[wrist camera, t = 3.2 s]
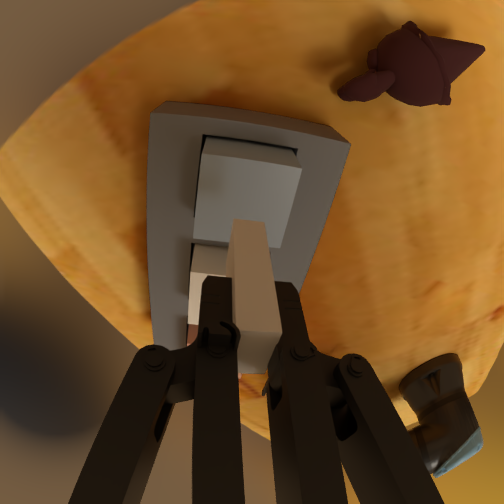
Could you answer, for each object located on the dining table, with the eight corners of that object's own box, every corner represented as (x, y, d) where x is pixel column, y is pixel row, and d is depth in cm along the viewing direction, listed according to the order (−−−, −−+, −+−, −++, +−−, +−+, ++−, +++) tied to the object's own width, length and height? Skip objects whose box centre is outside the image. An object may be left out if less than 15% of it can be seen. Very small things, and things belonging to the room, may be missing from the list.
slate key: (273, 218, 24) (280, 248, 21) (198, 209, 24) (193, 238, 20) (291, 148, 21) (302, 168, 18) (207, 135, 20) (201, 153, 17)
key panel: (266, 332, 40) (270, 363, 36) (160, 322, 38) (155, 353, 34) (331, 127, 24) (351, 144, 20) (165, 101, 22) (150, 112, 18)
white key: (253, 297, 30) (255, 329, 27) (191, 291, 29) (187, 323, 26) (266, 248, 26) (270, 280, 23) (195, 240, 25) (190, 272, 22)
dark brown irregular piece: (484, 1, 11) (320, 43, 16) (522, 88, 13) (371, 142, 18) (449, 18, 17) (315, 59, 22) (480, 87, 19) (353, 134, 24)
